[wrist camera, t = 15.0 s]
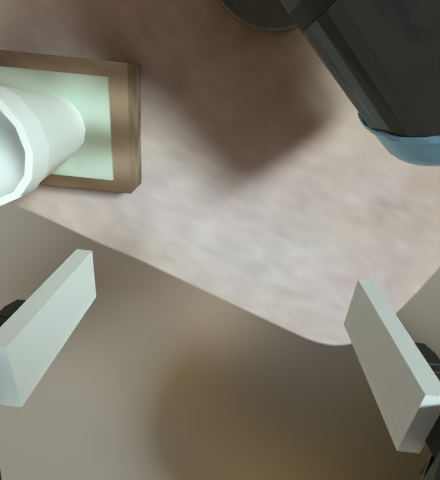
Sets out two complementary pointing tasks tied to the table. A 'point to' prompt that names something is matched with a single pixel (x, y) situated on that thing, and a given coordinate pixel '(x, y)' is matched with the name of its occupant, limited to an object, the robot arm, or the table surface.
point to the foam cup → (34, 139)
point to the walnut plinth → (88, 115)
